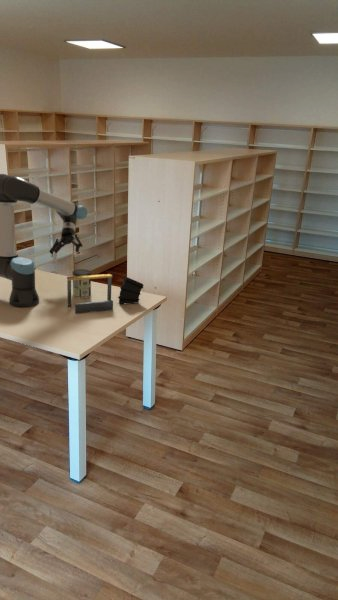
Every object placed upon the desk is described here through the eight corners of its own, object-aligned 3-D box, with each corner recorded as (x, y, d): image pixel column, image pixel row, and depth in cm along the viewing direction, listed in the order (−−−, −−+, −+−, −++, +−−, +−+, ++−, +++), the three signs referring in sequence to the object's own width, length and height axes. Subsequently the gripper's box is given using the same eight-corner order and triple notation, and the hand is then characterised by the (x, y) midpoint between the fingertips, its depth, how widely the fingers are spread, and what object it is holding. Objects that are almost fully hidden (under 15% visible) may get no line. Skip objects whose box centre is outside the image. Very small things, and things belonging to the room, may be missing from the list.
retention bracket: (72, 314, 222) (72, 283, 217) (67, 306, 232) (66, 276, 226) (116, 309, 233) (117, 280, 227) (109, 302, 242) (110, 273, 236)
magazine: (113, 300, 241) (125, 276, 239) (132, 307, 248) (144, 284, 245) (115, 302, 238) (127, 278, 236) (135, 310, 244) (147, 286, 242)
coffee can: (81, 291, 255) (81, 268, 251) (94, 295, 251) (95, 271, 246) (68, 295, 247) (68, 271, 242) (82, 299, 242) (82, 275, 237)
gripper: (90, 230, 255) (87, 258, 243) (53, 240, 262) (48, 268, 249) (84, 221, 249) (80, 249, 237) (46, 232, 256) (41, 260, 244)
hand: (64, 259), depth 243 cm, fingers open, 13 cm apart
